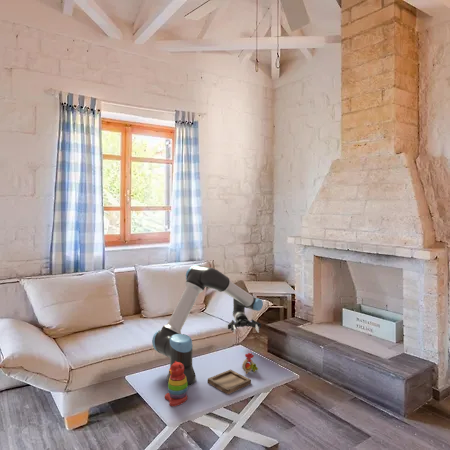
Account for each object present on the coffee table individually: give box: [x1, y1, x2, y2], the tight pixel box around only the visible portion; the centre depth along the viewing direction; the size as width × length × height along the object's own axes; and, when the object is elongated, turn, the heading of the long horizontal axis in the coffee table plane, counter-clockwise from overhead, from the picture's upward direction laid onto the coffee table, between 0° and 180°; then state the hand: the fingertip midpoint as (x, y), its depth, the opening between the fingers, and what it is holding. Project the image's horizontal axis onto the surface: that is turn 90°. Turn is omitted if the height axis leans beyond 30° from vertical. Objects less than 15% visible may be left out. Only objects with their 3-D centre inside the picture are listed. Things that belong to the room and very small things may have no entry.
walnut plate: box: [207, 369, 252, 395], centre depth 189 cm, size 16×16×2 cm
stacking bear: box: [164, 361, 189, 407], centre depth 173 cm, size 11×10×18 cm
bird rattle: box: [241, 352, 259, 375], centre depth 201 cm, size 6×11×9 cm
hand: (246, 330), depth 210 cm, fingers open, 13 cm apart
